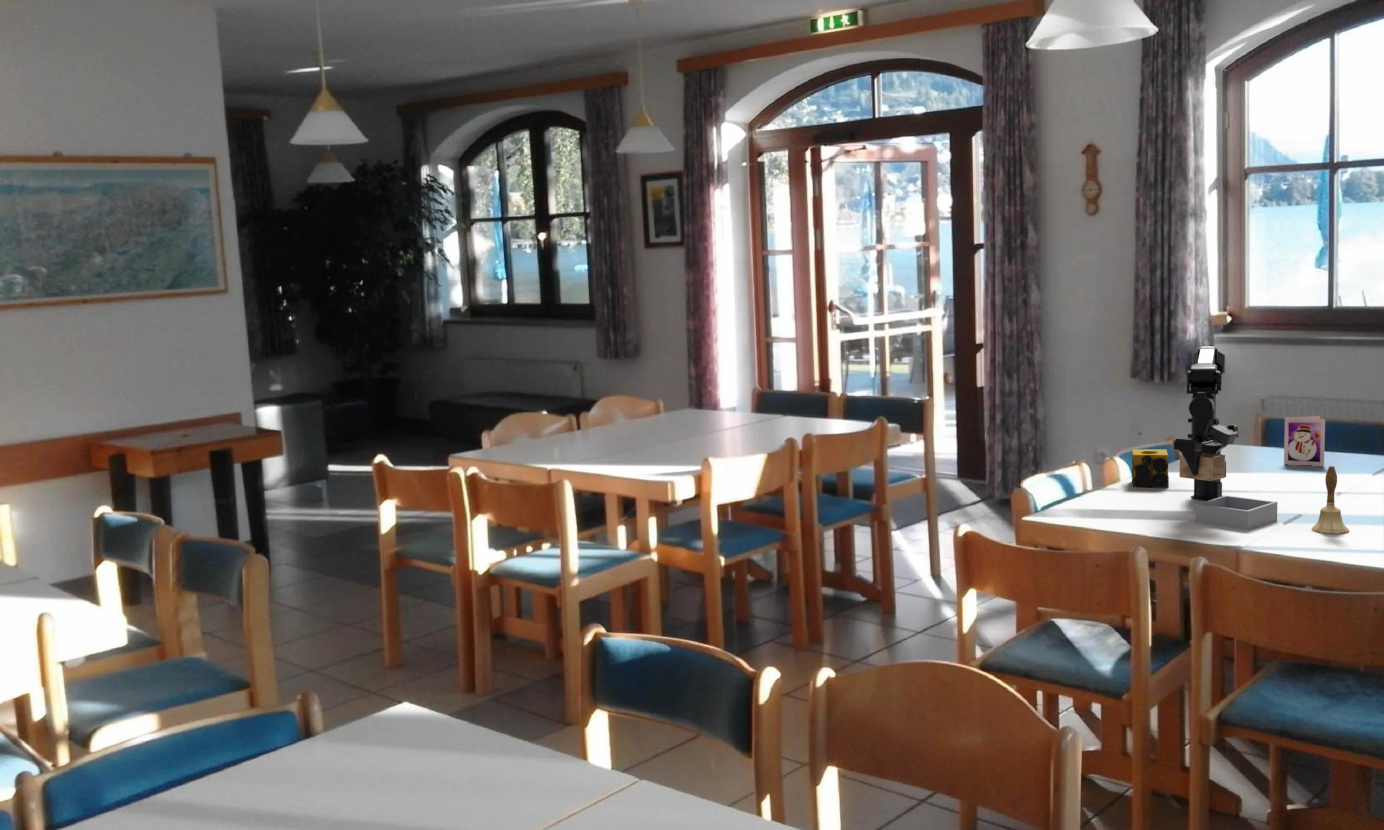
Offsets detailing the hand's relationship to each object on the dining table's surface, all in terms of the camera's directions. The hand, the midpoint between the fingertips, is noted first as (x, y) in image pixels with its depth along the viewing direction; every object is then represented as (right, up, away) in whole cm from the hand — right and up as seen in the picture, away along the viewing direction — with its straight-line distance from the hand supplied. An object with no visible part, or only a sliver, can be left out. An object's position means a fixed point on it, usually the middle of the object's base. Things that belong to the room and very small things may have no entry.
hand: (1202, 473), depth 341 cm
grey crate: (+6, -12, -6) cm, 15 cm away
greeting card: (+59, 0, +69) cm, 91 cm away
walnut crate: (0, -1, 0) cm, 1 cm away
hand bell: (+24, -13, -20) cm, 34 cm away
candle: (+2, -6, +46) cm, 46 cm away
